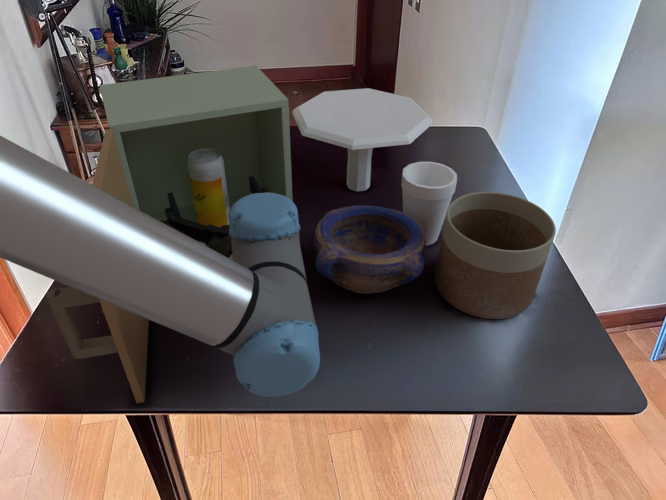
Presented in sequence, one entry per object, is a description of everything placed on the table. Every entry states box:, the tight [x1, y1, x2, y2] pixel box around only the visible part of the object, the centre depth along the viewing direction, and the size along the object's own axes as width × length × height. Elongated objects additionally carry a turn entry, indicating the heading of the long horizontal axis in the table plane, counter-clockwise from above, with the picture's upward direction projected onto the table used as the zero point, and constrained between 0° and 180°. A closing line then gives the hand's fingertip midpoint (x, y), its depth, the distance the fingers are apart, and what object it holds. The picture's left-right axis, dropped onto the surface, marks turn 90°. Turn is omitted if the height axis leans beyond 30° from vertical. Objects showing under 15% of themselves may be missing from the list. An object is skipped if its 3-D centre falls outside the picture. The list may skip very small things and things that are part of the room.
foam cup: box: [400, 161, 458, 246], centre depth 93 cm, size 10×9×13 cm
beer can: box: [187, 148, 230, 227], centre depth 91 cm, size 6×6×15 cm
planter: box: [434, 191, 557, 320], centre depth 81 cm, size 16×16×14 cm
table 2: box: [291, 87, 434, 192], centre depth 106 cm, size 28×28×17 cm
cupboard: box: [99, 65, 294, 246], centre depth 90 cm, size 17×26×26 cm, turn 114°
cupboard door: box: [45, 128, 150, 404], centre depth 68 cm, size 7×26×26 cm, turn 14°
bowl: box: [312, 204, 426, 295], centre depth 84 cm, size 18×18×10 cm
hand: (212, 191), depth 86 cm, fingers open, 13 cm apart
